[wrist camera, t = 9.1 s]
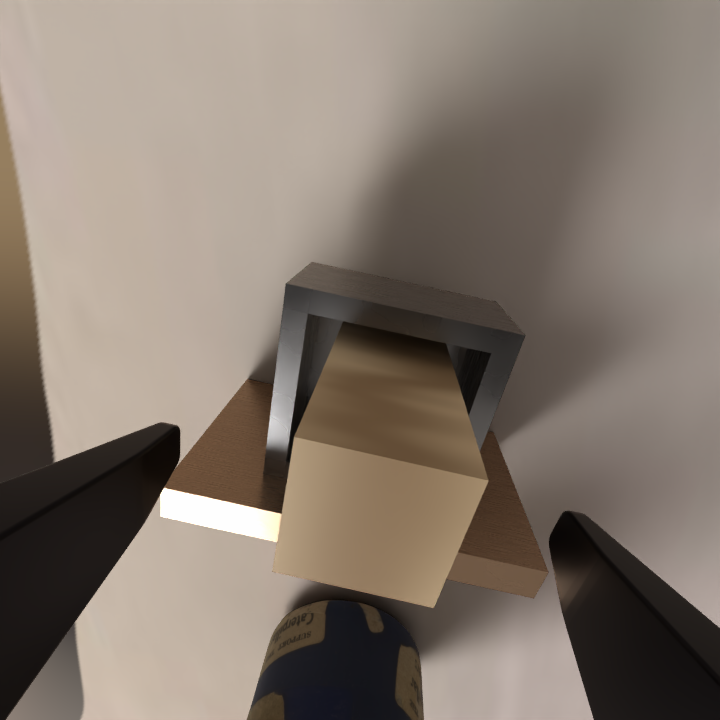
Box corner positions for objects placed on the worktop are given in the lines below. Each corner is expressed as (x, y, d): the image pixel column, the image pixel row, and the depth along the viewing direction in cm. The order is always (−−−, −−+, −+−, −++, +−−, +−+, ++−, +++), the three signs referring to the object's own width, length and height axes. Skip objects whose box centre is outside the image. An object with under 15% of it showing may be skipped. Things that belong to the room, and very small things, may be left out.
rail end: (445, 343, 14) (488, 480, 7) (418, 429, 15) (433, 607, 9) (343, 320, 14) (294, 436, 7) (326, 408, 15) (272, 572, 9)
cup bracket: (546, 299, 16) (657, 381, 9) (455, 526, 21) (483, 687, 14) (260, 237, 16) (157, 273, 9) (238, 479, 21) (162, 617, 14)
